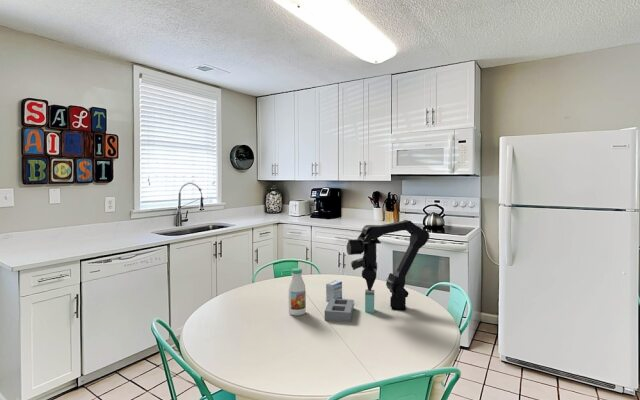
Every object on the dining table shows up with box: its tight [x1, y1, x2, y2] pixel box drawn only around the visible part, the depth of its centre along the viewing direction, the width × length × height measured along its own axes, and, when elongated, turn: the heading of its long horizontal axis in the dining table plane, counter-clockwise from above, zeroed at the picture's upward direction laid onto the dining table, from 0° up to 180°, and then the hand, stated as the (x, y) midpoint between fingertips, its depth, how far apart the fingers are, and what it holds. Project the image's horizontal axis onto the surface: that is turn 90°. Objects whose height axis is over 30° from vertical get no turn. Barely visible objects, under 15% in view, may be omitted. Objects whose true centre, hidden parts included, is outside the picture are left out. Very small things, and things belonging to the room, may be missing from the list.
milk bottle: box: [287, 267, 307, 317], centre depth 161 cm, size 8×8×20 cm
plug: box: [364, 288, 375, 314], centre depth 163 cm, size 4×4×9 cm
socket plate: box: [324, 298, 355, 323], centre depth 160 cm, size 11×16×4 cm
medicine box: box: [325, 279, 343, 302], centre depth 178 cm, size 8×4×9 cm, turn 143°
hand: (370, 287), depth 163 cm, fingers open, 9 cm apart
